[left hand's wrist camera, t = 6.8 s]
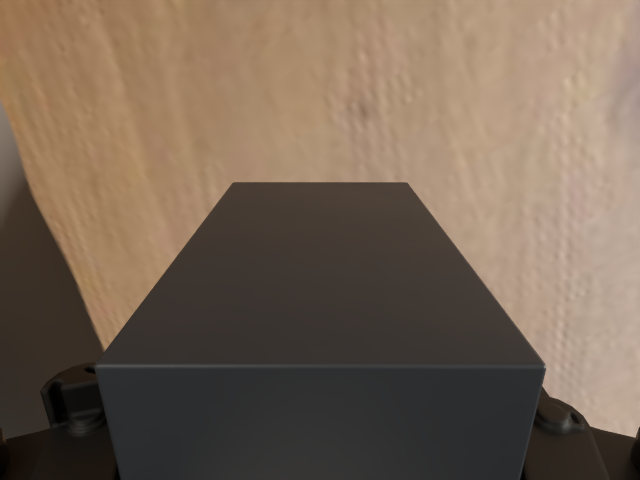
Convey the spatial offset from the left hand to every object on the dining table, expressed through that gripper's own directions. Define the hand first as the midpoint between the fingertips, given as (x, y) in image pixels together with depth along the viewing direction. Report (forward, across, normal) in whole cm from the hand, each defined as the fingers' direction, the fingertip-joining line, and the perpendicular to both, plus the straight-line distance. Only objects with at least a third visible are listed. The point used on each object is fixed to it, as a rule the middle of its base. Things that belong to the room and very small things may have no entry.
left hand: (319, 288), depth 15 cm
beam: (0, 0, -8) cm, 8 cm away
